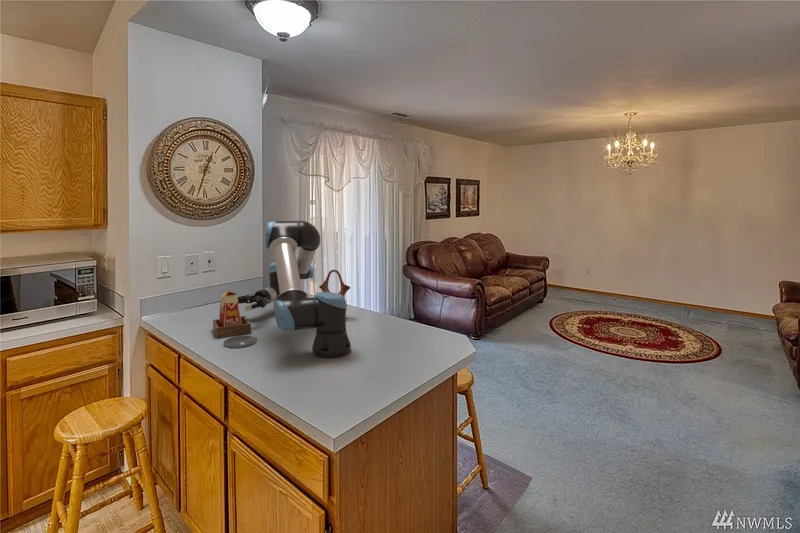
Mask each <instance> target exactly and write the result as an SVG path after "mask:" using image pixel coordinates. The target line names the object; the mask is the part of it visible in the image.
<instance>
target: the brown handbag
mask: <svg viewBox="0 0 800 533" xmlns="http://www.w3.org/2000/svg"><path fill="white" fill-rule="evenodd" d="M332 273H336V274H337V276H338V279H339V284H340V290H339V292H338V293H337V294H340V295H342V296H343V297H344V298H345V297H346V293H347V292H348V291H349V290H350V289H351V286H349V285H348V284H345V283H344V281H343V279H342V276H341V273H340V271H338V270H336V269H332V270H331V269H330V271H329V272H328V273H327V276H326V278H325V280H324V282H323V283H322V284H320V285H319V286H318V288H320V290H321V292H331V291H330V289H329V280H330V277H331V274H332ZM345 299H346V298H345ZM345 302H346V311H347V309H348V305H347V301H346V300H345Z"/></svg>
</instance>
